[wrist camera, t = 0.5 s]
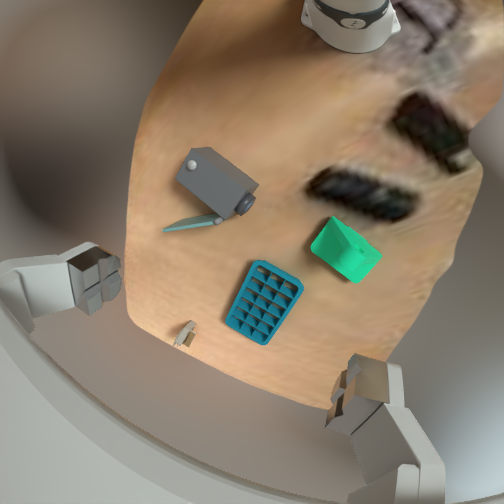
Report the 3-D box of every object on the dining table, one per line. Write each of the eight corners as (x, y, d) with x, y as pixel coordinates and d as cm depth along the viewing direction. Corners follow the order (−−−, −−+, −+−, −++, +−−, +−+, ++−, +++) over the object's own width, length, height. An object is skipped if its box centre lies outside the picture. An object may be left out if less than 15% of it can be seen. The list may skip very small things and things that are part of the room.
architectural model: (202, 325, 72) (188, 341, 66) (194, 339, 75) (182, 355, 69) (191, 318, 72) (177, 334, 66) (185, 333, 76) (171, 348, 69)
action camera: (265, 189, 52) (252, 197, 45) (246, 216, 55) (230, 227, 49) (209, 147, 52) (189, 148, 46) (193, 174, 56) (172, 179, 49)
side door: (235, 209, 55) (217, 219, 48) (236, 215, 56) (219, 226, 49) (183, 217, 60) (161, 228, 53) (185, 223, 61) (163, 234, 54)
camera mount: (310, 244, 53) (301, 265, 44) (333, 214, 49) (329, 230, 40) (356, 279, 52) (356, 306, 43) (380, 251, 49) (386, 275, 40)
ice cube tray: (308, 279, 56) (306, 286, 54) (268, 339, 66) (265, 347, 63) (260, 252, 58) (255, 257, 55) (228, 316, 67) (223, 323, 65)
